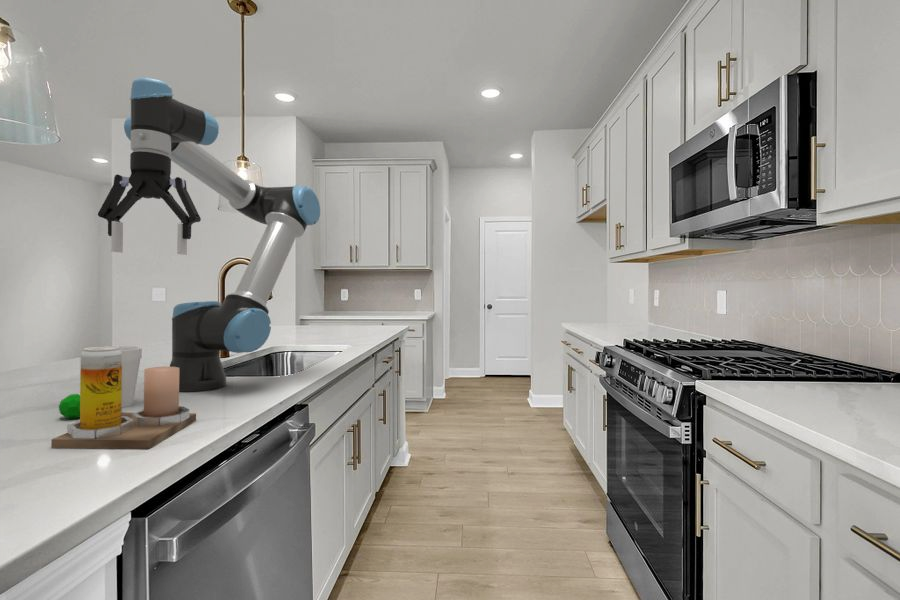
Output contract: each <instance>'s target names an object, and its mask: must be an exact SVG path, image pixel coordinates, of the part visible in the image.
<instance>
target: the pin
mask: <svg viewBox="0 0 900 600" xmlns="http://www.w3.org/2000/svg"><path fill="white" fill-rule="evenodd" d="M143 373H144V374H143V375H144V377H143V384H144V385H143V409H144V417H163V416H169V415H175V414H179V406H180V391H179V367H169V366H153V367H147V368H145V369H144V370H143Z"/></svg>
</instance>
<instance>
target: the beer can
mask: <svg viewBox="0 0 900 600" xmlns="http://www.w3.org/2000/svg"><path fill="white" fill-rule="evenodd" d="M79 381H80V383H79V385H80V388H79V389H80V390H79V392H80V393H79V395H80V417H79V420H80V429H99V428H106V427H112V426H118V425H120V424H121V412H122V407H121V402H122V353H121V351H120V348H119V347H114V346H112V345H110V346H108V345H107V346H106V345H105V346H104V345H103V346H92V347H91V346H90V347H84V348H83V350H82V352H81V354H80V380H79Z"/></svg>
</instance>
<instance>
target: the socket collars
mask: <svg viewBox="0 0 900 600" xmlns="http://www.w3.org/2000/svg"><path fill="white" fill-rule="evenodd" d="M132 413H133V414H132V419H131V418H129V417H128V416H127V417H126V416H121V424H120V425H118V426H112V427H106V428H99V429H80V419H79V420H78V421H74V422H72V423H70V424H68V425H66V433H67V434H68V435H69V436H70V437H71V438H73V439H98V438H104V437H110V436H116V435H120V434H123V433H125V432H127V431H129V430H131V429H133V423H135V424H136V425H139V426H162V425H168V424H174V423H180V422H182V421H184V420H186V419H187V418H189V417H190V413H191V410H190V409H189V408H188V407H185V406H181V405H179V414H175V415H169V416H163V417H144V408H142V409H140V410H137V411H135V412H132Z"/></svg>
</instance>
